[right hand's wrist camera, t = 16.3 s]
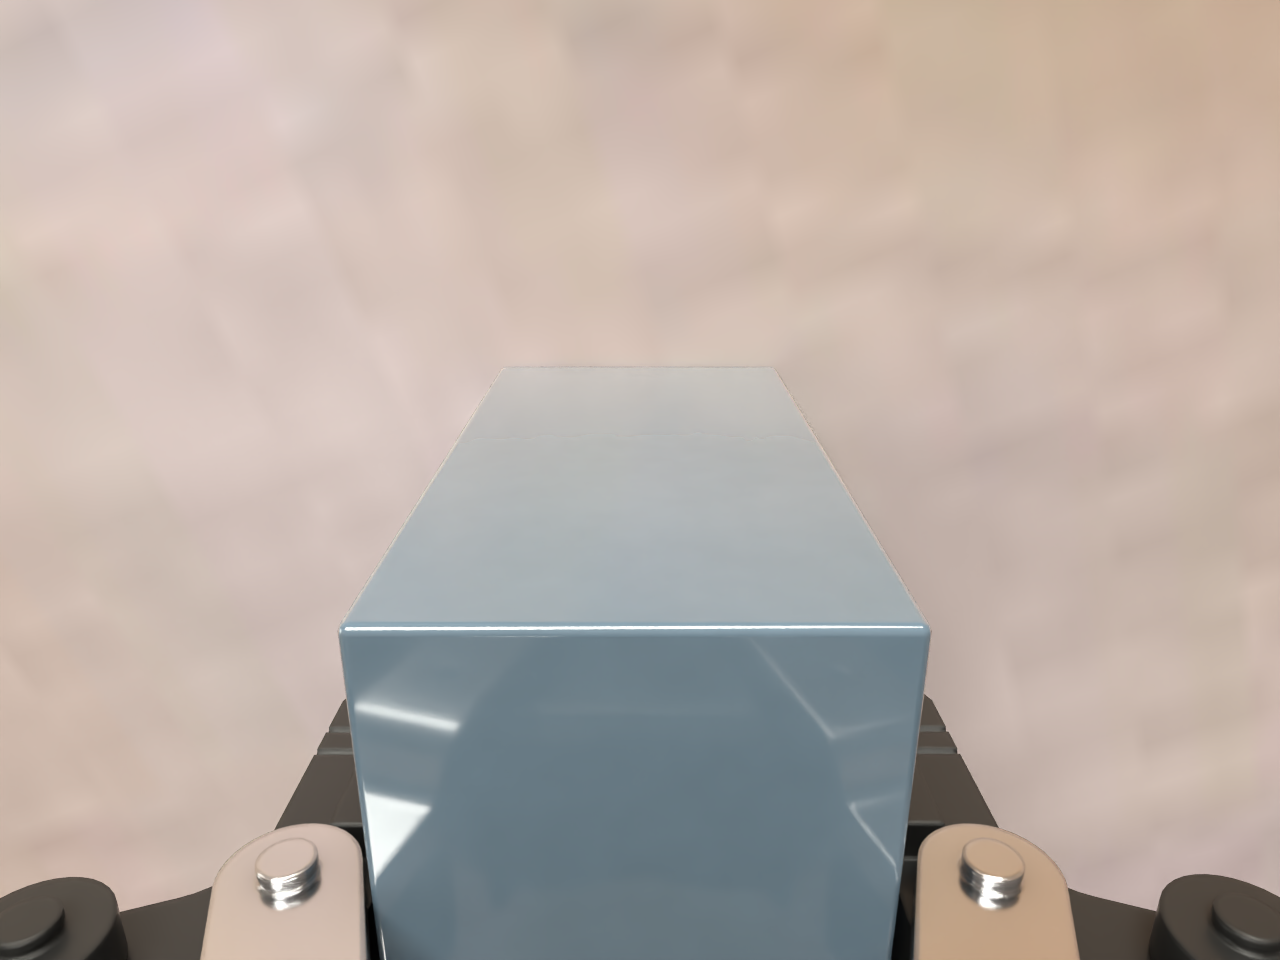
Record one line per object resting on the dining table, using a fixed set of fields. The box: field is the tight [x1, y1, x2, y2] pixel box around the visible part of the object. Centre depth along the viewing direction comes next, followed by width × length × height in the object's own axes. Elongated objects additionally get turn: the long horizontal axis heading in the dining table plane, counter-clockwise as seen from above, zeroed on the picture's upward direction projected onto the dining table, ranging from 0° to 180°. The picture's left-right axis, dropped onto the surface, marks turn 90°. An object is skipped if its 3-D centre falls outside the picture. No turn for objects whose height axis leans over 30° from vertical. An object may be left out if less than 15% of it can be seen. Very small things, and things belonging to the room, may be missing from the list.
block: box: [338, 367, 932, 960], centre depth 12 cm, size 4×8×8 cm, turn 0°
